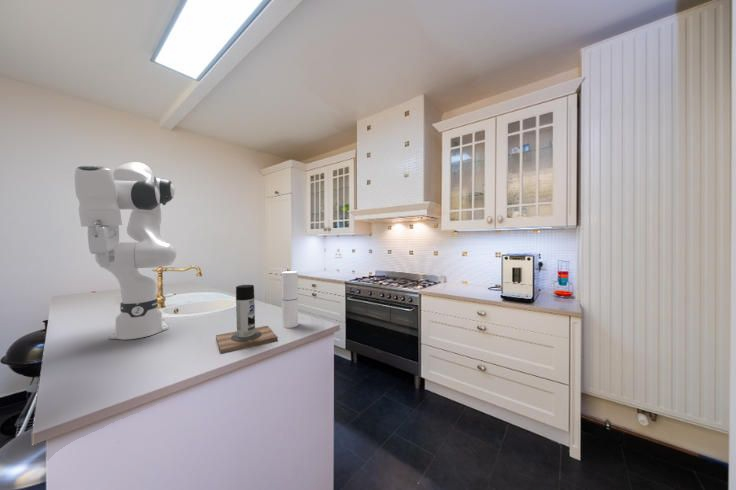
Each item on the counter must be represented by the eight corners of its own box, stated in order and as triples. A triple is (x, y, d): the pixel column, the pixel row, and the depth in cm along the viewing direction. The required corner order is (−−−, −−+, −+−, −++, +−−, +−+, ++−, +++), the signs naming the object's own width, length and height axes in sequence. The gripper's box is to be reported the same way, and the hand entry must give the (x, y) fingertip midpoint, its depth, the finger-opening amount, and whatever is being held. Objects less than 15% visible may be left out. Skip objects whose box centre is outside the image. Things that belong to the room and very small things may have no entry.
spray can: (250, 338, 100) (249, 287, 100) (233, 338, 101) (232, 287, 100) (257, 332, 107) (257, 284, 107) (241, 332, 107) (241, 284, 107)
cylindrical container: (279, 327, 118) (278, 272, 117) (286, 322, 125) (286, 270, 124) (294, 328, 117) (293, 273, 116) (300, 323, 124) (300, 271, 123)
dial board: (216, 338, 105) (216, 334, 105) (267, 328, 116) (267, 324, 116) (220, 353, 92) (220, 348, 92) (277, 340, 103) (277, 336, 103)
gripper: (109, 220, 73) (116, 268, 75) (120, 219, 89) (126, 258, 91) (76, 221, 69) (84, 272, 71) (94, 219, 85) (101, 260, 87)
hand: (108, 264), depth 81 cm, fingers open, 8 cm apart
